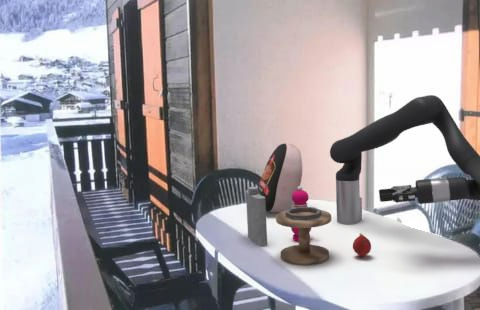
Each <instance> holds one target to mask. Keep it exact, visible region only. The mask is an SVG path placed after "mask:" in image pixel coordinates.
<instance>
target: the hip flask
mask: <svg viewBox="0 0 480 310" xmlns="http://www.w3.org/2000/svg"><path fill="white" fill-rule="evenodd" d="M258 187H259V186H250V187H248V188H247V189H246V190H245V201H246V203H245V204H246V221H247V237H248V238H249V239H250V241H251V242H252V243H254V244H255V245H256V246H259V247H267V246H268V231H267V230H268V228H267V211H266V203H265V197H264V196H261V195H259V194H258Z"/></svg>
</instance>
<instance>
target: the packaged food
mask: <svg viewBox="0 0 480 310" xmlns="http://www.w3.org/2000/svg"><path fill="white" fill-rule="evenodd" d="M302 158H303V157H302V153H301V150H300V149H299V147H297V146H296V145H295V144H294V143H293V144H292V143H285V142H284V143H282V144H279V145H277V147H276V148H275V149H274V151H273V152H272V153H271V155H270V157H269V158H268V160H267V162H266V165H265V167H264V170H263V172H262V174H261V178H260V181H259V183H258V186H257V187H258V190H257V191H258V193H257V194H259V195H261V196H264V197H265V203H266V212H270V213H276V214H279V213H280V212H283V211H287V210H288V209H291V208H293V207H294V205H293V204H294V202H293V200H292V194H293V193H294V192H295V191H297V190H298V189H297V188H298V186H301V183H302V178H303V161H302V160H303V159H302Z"/></svg>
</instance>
